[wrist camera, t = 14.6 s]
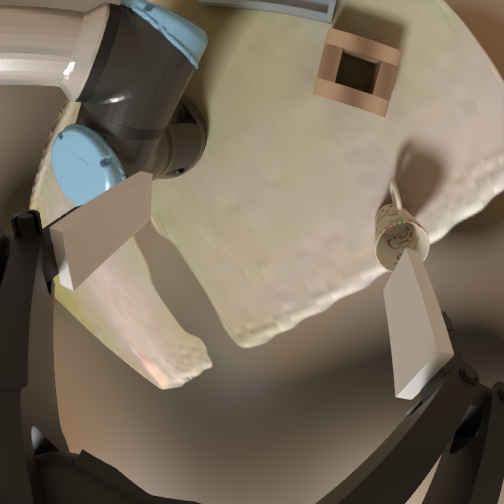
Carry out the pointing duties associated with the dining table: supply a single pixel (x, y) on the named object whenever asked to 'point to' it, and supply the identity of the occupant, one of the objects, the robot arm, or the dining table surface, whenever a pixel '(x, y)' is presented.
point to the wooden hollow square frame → (365, 50)
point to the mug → (397, 232)
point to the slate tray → (283, 7)
